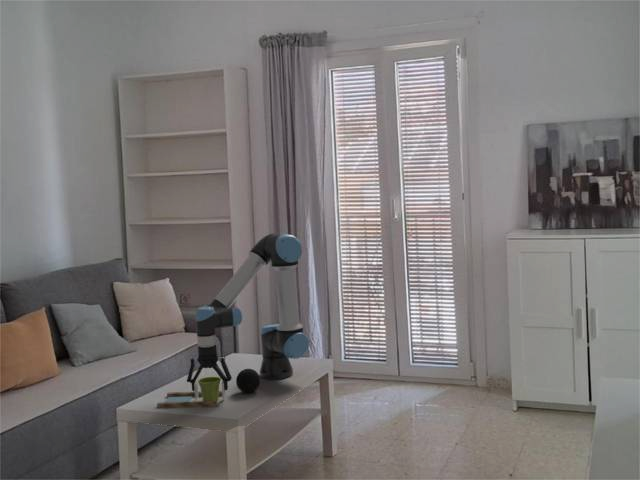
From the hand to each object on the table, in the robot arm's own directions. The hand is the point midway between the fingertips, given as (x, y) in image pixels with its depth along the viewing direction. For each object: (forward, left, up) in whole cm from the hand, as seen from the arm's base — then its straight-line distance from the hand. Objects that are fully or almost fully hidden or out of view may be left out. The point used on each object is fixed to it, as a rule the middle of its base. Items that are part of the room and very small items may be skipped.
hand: (210, 398), depth 300 cm
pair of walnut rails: (+8, 0, -1) cm, 8 cm away
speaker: (-14, -10, -1) cm, 17 cm away
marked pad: (+14, 0, -1) cm, 14 cm away
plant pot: (0, 0, -1) cm, 1 cm away
